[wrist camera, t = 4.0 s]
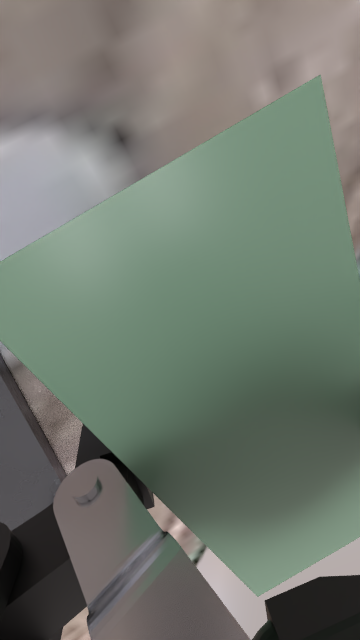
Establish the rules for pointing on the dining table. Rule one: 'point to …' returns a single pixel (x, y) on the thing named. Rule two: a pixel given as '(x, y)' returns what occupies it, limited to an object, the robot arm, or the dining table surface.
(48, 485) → the chassis
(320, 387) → the board
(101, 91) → the dining table surface
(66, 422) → the dining table surface
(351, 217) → the dining table surface
